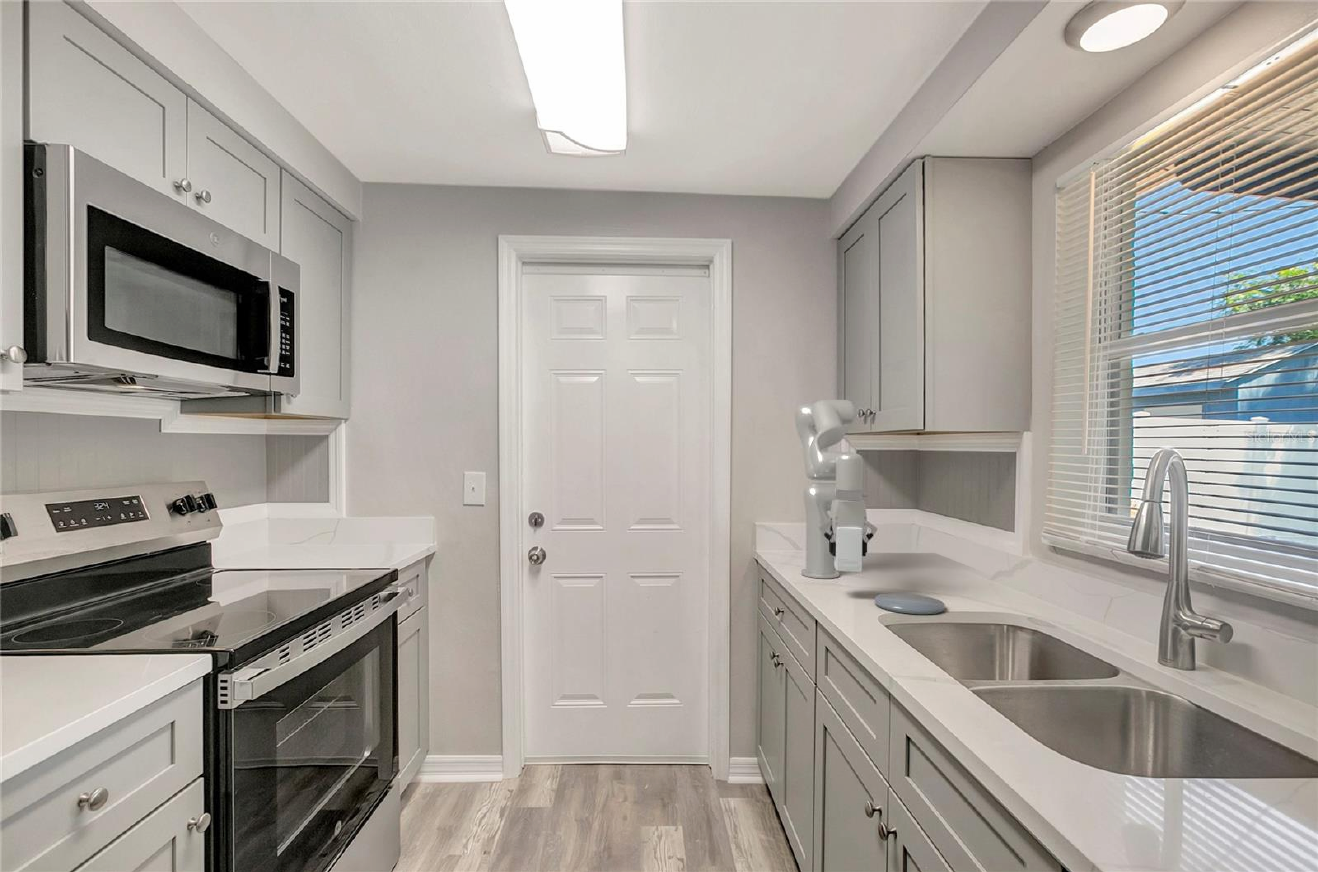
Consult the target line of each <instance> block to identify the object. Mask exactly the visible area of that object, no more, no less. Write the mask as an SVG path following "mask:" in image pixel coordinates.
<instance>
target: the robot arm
mask: <svg viewBox="0 0 1318 872" xmlns="http://www.w3.org/2000/svg"><path fill="white" fill-rule="evenodd" d="M794 413H795V414H794V423H795V427H796V431H797V435H798V436H799V439H800V442H801V443H802V452H803V461H804V470H805V474H806V477H807V478H808V479H809V480H811V481H817V482H813V483H812V482H811V483H808V484H807V485H806V486H805V487H804V489H803V503H804V508H805V509H804V510H805V568H803V569H802V570H801V575H802V576H804V577H808V578H814V579H835V578H839V577H840V571H836V569H835V566H834V556H836V543H835V539H836V533H837V528H839V527H851V528H862V529H863V530H862V557H866V556H867V555H866V554H868V543H869V542H870V540H871V539H873V537H874V535H875V534H876V533H877V531H878V527H876V526H875V525H873V524H872V523H870V522H869V521H868V516H867V508H866V503H865V502H866V501H864V500H863V499H864V498H865V497H866V498H867V497H868V492H866V491H864V490H863V478H864V477H863V469H864V468H863V467H864V465H863V464H864V459H863V456H862V455H860V454H858V453H856V452H853V451H829V449H828V448H830V447H833V446H835V445H837V444H838V443H840V442H841V441H842V440H843V439H844V437H845V436H846V429H845V427H850V426H852V425H853V424H854V423H855V422H856V419H857V414H858V413H857V408H856V405H855V404H854V403H853V402H852V401H851V400H848V399H821V400H818V401H816V402H814V403H805V404H801V405H799V406H798V407H797V408H796V409H795V412H794ZM819 481H820V482H819ZM823 481H824V482H823ZM825 481H826V482H825ZM830 481H831V482H830ZM828 512H829V514H828ZM868 528H869V529H870V530H869V532H868ZM867 532H868V533H867Z"/></svg>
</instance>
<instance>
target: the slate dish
mask: <svg viewBox="0 0 1318 872" xmlns="http://www.w3.org/2000/svg"><path fill="white" fill-rule="evenodd" d="M874 604H875V606H877V607H879V608H882V609H884V610H887V611H891V612H898V613H900V614H901V613H903V614H912V615H934V614H935V615H936V614H939V613H943V612H944V611H945V609H946V608H945V606H946V604H945V603H944V601H942V600H940V599H937V598H934V597H930V596H926V595H921V594H920V595H919V594H914V593H912V594H911V593H901V592H900V593H897V592H894V593H882V594H881V593H880V594H878V595H876V596H874Z"/></svg>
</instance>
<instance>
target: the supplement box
mask: <svg viewBox="0 0 1318 872" xmlns="http://www.w3.org/2000/svg"><path fill="white" fill-rule="evenodd" d="M862 530H863V529H862V528H851V527H839V528H837V533H836V539H835V543H836V556H834V566H835V571H838V572H848V573H849V572H850V573H851V572H854V573H855V572H856V573H862V572H863V556H862Z"/></svg>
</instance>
